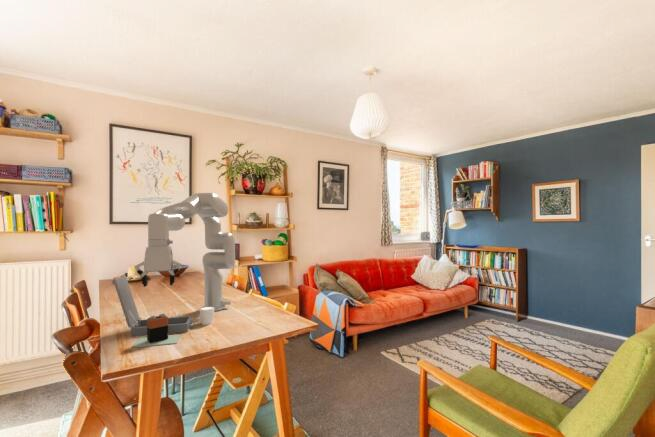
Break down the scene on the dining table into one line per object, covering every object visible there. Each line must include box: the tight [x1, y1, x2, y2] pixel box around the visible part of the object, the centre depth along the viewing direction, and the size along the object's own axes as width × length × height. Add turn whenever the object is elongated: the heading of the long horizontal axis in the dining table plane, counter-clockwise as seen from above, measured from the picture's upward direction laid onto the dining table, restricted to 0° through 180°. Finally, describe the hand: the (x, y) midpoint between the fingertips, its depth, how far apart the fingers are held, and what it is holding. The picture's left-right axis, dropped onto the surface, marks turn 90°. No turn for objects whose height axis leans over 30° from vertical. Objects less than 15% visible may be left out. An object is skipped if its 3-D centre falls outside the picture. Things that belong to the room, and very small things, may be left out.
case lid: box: [113, 275, 140, 329], centre depth 139 cm, size 21×12×1 cm
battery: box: [146, 313, 169, 343], centre depth 129 cm, size 4×7×10 cm, turn 134°
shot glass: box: [198, 306, 215, 326], centre depth 153 cm, size 7×7×7 cm
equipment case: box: [128, 310, 192, 337], centre depth 143 cm, size 23×12×11 cm, turn 105°
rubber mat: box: [130, 333, 182, 349], centre depth 129 cm, size 16×10×1 cm, turn 105°
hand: (158, 285), depth 130 cm, fingers open, 9 cm apart
